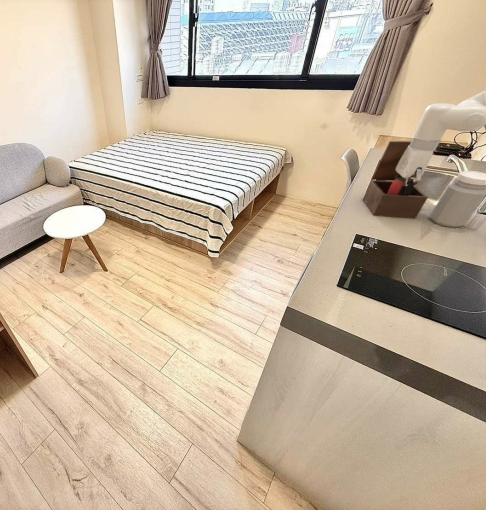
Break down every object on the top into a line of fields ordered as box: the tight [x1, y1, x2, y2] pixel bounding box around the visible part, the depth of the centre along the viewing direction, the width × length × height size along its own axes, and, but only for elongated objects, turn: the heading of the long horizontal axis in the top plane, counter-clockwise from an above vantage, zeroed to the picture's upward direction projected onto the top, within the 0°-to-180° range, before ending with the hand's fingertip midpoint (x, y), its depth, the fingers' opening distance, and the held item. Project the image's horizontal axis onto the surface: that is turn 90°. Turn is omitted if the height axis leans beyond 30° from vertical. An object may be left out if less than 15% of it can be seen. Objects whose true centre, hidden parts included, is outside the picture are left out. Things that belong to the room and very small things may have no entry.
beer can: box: [387, 177, 413, 195], centre depth 108 cm, size 7×7×12 cm
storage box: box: [362, 179, 429, 219], centre depth 111 cm, size 15×14×9 cm
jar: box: [430, 170, 486, 228], centre depth 98 cm, size 10×10×18 cm
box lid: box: [371, 140, 414, 181], centre depth 110 cm, size 16×14×5 cm
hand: (399, 191), depth 107 cm, fingers closed on beer can, 6 cm apart
